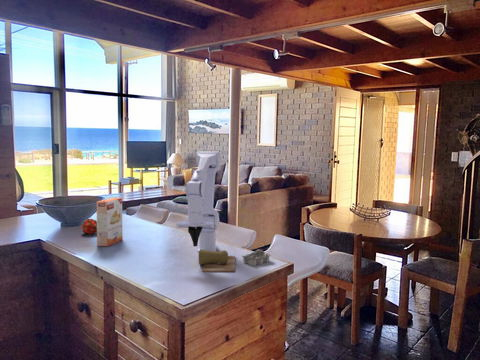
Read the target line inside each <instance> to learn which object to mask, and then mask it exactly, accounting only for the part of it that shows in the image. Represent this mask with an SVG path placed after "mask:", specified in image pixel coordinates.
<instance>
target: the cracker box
mask: <svg viewBox="0 0 480 360" xmlns="http://www.w3.org/2000/svg"><path fill="white" fill-rule="evenodd" d="M95 204H96V221H97V233H96V247H97V246H98V247H110V246H113V245H114V244H117V243H118V242H121V241H123V198H122V197H109V198H105V199H102V200H98V201H96V202H95Z"/></svg>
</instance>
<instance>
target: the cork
mask: <svg viewBox="0 0 480 360" xmlns="http://www.w3.org/2000/svg"><path fill="white" fill-rule="evenodd" d="M228 256H229V253H228V251H226V250H220V251H217V250H216V251H209V250H202V249H200V251H199V252H198V264H199V266H200V265H203V266H204V264H211V263H221V264H226V263H227V262H228Z"/></svg>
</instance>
